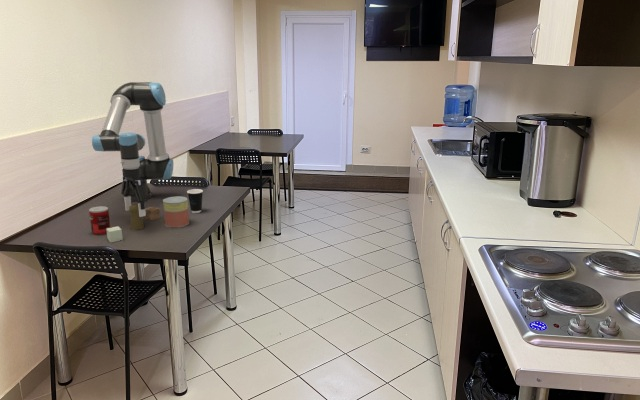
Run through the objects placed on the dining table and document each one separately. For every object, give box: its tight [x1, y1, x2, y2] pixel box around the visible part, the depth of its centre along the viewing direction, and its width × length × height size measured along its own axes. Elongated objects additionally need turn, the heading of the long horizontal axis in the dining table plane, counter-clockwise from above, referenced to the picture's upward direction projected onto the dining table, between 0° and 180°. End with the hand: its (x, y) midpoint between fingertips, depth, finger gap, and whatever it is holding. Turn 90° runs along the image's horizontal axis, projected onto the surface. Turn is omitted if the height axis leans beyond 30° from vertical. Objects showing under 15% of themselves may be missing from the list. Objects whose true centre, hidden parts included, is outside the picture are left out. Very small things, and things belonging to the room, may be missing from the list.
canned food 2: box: [162, 195, 190, 228], centre depth 226 cm, size 11×11×12 cm
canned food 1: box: [88, 205, 111, 236], centre depth 214 cm, size 8×8×11 cm
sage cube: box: [106, 225, 124, 243], centre depth 206 cm, size 5×5×5 cm
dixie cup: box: [186, 188, 204, 214], centre depth 244 cm, size 8×8×11 cm
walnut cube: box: [144, 206, 161, 221], centre depth 235 cm, size 5×5×5 cm
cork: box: [128, 203, 145, 231], centre depth 220 cm, size 6×6×11 cm
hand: (135, 213), depth 219 cm, fingers open, 13 cm apart
